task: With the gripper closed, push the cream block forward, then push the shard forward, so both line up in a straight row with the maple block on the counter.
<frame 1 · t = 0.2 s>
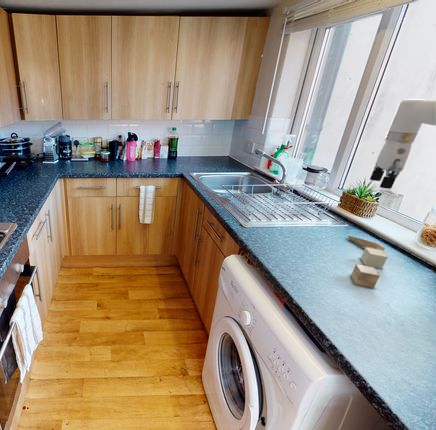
hand: (379, 184, 107), 27 cm above the worktop, tool pointing down, fingers open, 9 cm apart
shard: (363, 247, 117), on the worktop
maple block: (361, 281, 96), on the worktop
cream block: (370, 263, 106), on the worktop
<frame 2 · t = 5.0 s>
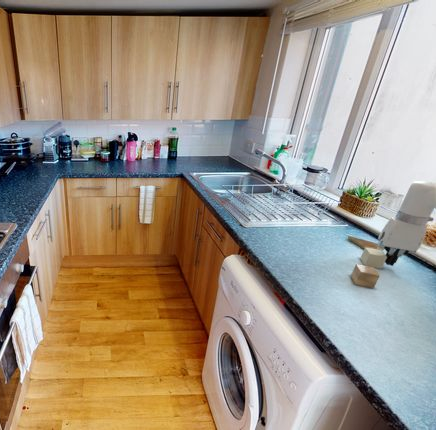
hand: (388, 263, 104), 1 cm above the worktop, tool pointing down, fingers closed
cream block: (370, 263, 106), on the worktop, touching gripper
everything else where it was.
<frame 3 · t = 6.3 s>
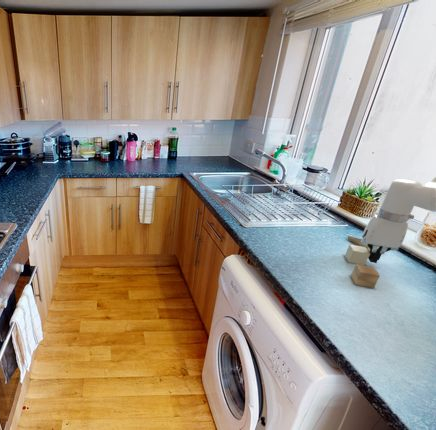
hand: (371, 260, 105), 1 cm above the worktop, tool pointing down, fingers closed
cream block: (354, 260, 108), on the worktop, touching gripper
everything else where it was.
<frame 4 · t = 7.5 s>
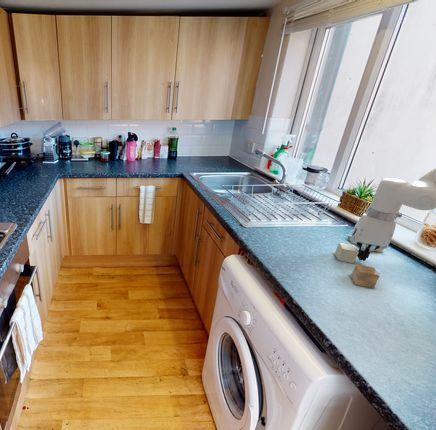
hand: (360, 258, 107), 1 cm above the worktop, tool pointing down, fingers closed
cream block: (343, 258, 109), on the worktop, touching gripper
everything else where it was.
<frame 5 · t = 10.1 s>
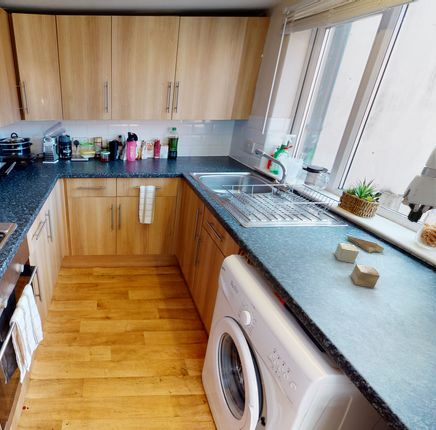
hand: (412, 220, 107), 14 cm above the worktop, tool pointing down, fingers closed
cream block: (343, 258, 109), on the worktop
everything else where it was.
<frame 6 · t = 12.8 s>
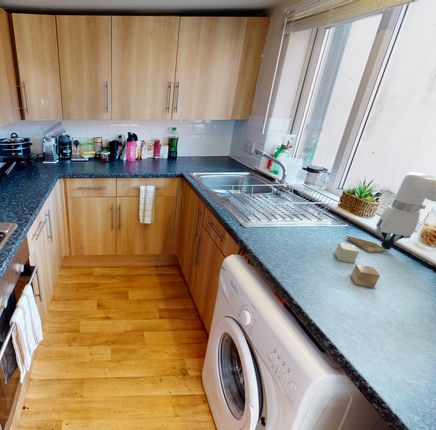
hand: (385, 248, 114), 1 cm above the worktop, tool pointing down, fingers closed
shard: (363, 247, 117), on the worktop, touching gripper
everything else where it was.
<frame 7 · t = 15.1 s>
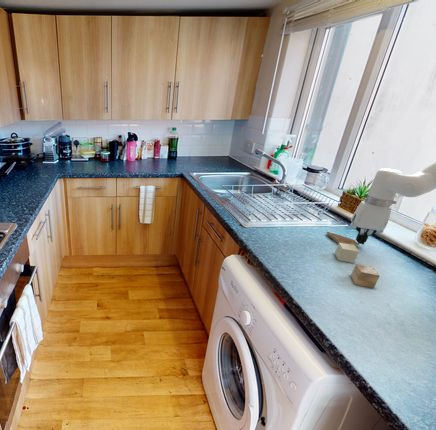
hand: (359, 242, 117), 1 cm above the worktop, tool pointing down, fingers closed
shard: (339, 242, 120), on the worktop, touching gripper
everything else where it was.
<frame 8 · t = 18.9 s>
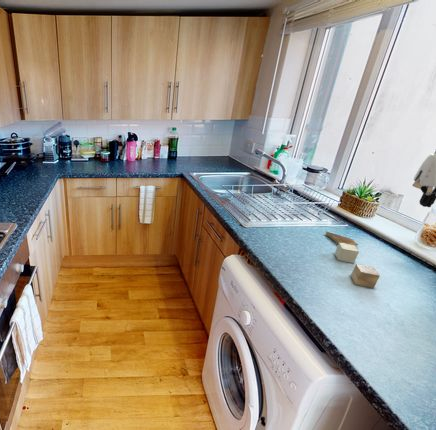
hand: (424, 205, 97), 23 cm above the worktop, tool pointing down, fingers closed
shard: (338, 242, 120), on the worktop
everything else where it was.
at the end: cream block 1.3 cm from the target spot, on the worktop; shard 0.3 cm from the target spot, on the worktop; maple block moved 0.0 cm from its start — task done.
